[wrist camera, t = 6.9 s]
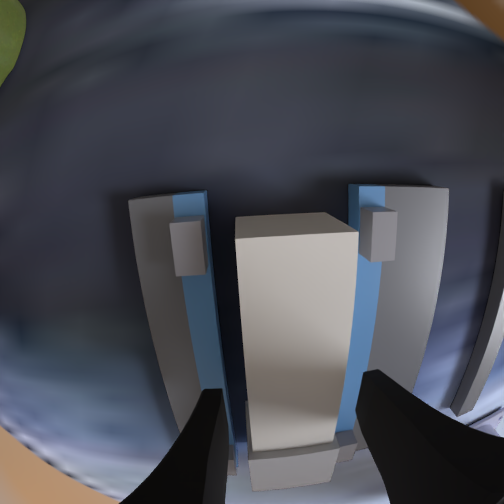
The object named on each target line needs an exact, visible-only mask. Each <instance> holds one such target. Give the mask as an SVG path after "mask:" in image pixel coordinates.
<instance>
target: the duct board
mask: <svg viewBox="0 0 504 504" xmlns="http://www.w3.org/2000/svg"><path fill="white" fill-rule="evenodd" d="M348 199H349V203H348V226H350V227H352V228H353V229H355V230H357V231H358V232H359V238H358V260H357V276H356V289H355V301H354V312H353V321H352V330H351V339H350V347H349V354H348V361H347V368H346V375H345V381H344V387H343V393H342V399H341V404H340V409H339V415H338V420H337V425H336V429H335V436H336V438H337V441H338V444H339V447H340V449H339V453H338V457H337V460H336V463H340V462H344V461H349V460H352V459H353V456H354V453H355V451H357V450H361V449H365V448H368V446H367V444H366V441H365V439H364V437H363V435H362V432H361V429H360V426H359V423H358V419H357V416H356V412H355V408H356V404H357V399H358V395H359V390H360V385H361V380H362V375H363V372H365V371H370V370H375V369H379V370H381V371H382V372H383V373H385V374H386V375H387V376H389V377H390V378H391V379H393V380H394V381H395V382H397V383H398V384H399V385H401V386H402V387H403V388H405V389H406V390H407V391H409V392H410V393H412V391H413V388H414V385H415V382H416V379H417V376H418V373H419V370H420V366H421V363H422V360H423V356H424V353H425V349H426V345H427V341H428V337H429V333H430V329H431V325H432V321H433V316H434V311H435V307H436V302H437V296H438V291H439V285H440V279H441V273H442V266H443V259H444V251H445V242H446V231H447V219H448V203H449V188H444V187H438V186H427V185H397V184H348ZM128 203H129V212H130V220H131V227H132V235H133V242H134V248H135V255H136V261H137V267H138V272H139V278H140V283H141V289H142V294H143V299H144V304H145V309H146V313H147V318H148V322H149V327H150V331H151V335H152V339H153V343H154V347H155V351H156V355H157V359H158V363H159V367H160V370H161V374H162V377H163V381H164V384H165V388H166V391H167V395H168V398H169V401H170V404H171V407H172V411H173V414H174V417H175V420H176V423H177V426H178V429H179V432H180V433H181V432H182V430H183V428H184V426H185V425H186V423H187V421H188V420H189V418H190V416H191V414H192V412H193V410H194V408H195V406H196V404H197V402H198V399H199V397H200V394H201V392H202V391H203V390H204V389H214V388H222V389H223V396H224V402H225V408H226V414H227V420H228V426H229V459H228V471H227V476H228V475H237V474H236V467H238V452H237V446H236V439H235V433H234V427H233V420H232V414H231V407H230V400H229V393H228V386H227V379H226V371H225V364H224V356H223V348H222V340H221V332H220V323H219V315H218V306H217V297H216V287H215V278H214V268H213V257H212V247H211V236H210V224H209V212H208V199H207V190H201V191H190V192H179V193H169V194H159V195H150V196H141V197H136V198H133V199H131V200H128ZM503 337H504V191H503V209H502V220H501V230H500V238H499V246H498V252H497V259H496V265H495V270H494V275H493V280H492V285H491V290H490V294H489V298H488V302H487V306H486V310H485V314H484V318H483V321H482V325H481V328H480V331H479V335H478V338H477V341H476V344H475V347H474V350H473V353H472V356H471V359H470V361H469V364H468V367H467V369H466V372H465V375H464V377H463V380H462V382H461V384H460V387H459V389H458V392H457V394H456V396H455V398H454V401H453V403H452V405H451V407H450V409H451V410H452V411H453V413H454V414H455V415H456V417H458V416H461V415H463V414H465V413H467V412H469V411H471V410H473V408H474V406H475V404H476V402H477V400H478V398H479V396H480V394H481V391H482V389H483V387H484V385H485V383H486V380H487V378H488V376H489V374H490V371H491V369H492V366H493V364H494V361H495V359H496V356H497V354H498V351H499V348H500V346H501V343H502V340H503Z"/></svg>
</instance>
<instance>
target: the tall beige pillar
mask: <svg viewBox="0 0 504 504" xmlns="http://www.w3.org/2000/svg"><path fill="white" fill-rule="evenodd" d="M358 238H359V232H358V231H357V230H355V229H353V228H352V227H350V226H348V225H347V224H345V223H343V222H341V221H340V220H338V219H336V218H334V217H333V216H331V215H329V214H327V213H326V212H319V213H296V214H277V215H259V216H243V217H235V244H236V258H237V272H238V286H239V299H240V312H241V324H242V337H243V349H244V360H245V372H246V383H247V395H248V401H245V408H246V428H247V446H248V462H249V470H250V477H251V485H252V491H265V490H276V489H286V488H294V487H301V486H307V485H314V484H319V483H325V482H330V481H331V477H332V474H333V471H334V467H335V464H336V460H337V457H338V453H339V449H340V447H339V444H338V441H337V438H336V436H335V429H336V425H337V420H338V415H339V409H340V404H341V399H342V393H343V387H344V381H345V375H346V368H347V361H348V354H349V347H350V339H351V330H352V321H353V312H354V301H355V289H356V276H357V260H358Z"/></svg>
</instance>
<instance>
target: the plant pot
mask: <svg viewBox="0 0 504 504" xmlns="http://www.w3.org/2000/svg"><path fill="white" fill-rule="evenodd" d="M25 30H26V14H25V10H24V8H23V6H22V5H21V3H20V2H19V1H18V0H0V87H1V85H2V83H3V81H4V80H5V78H6V77H7V75H8V74H9V73H10V72H11V71H12V69H13V67H14V65H15V63H16V60H17V58H18V55H19V53H20V50H21V47H22V43H23V39H24V35H25Z"/></svg>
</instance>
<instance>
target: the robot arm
mask: <svg viewBox="0 0 504 504" xmlns="http://www.w3.org/2000/svg"><path fill="white" fill-rule="evenodd" d="M355 412H356V416H357V419H358V423H359V426H360V429H361V432H362V435H363V437H364V439H365V441H366V444H367V446H368V448H369V450H370V452H371V454H372V457H373V459H374V461H375V463H376V465H377V468H378V470H379V472H380V474H381V476H382V479H383V481H384V484H385V487H386V490H387V494H388V497H389V501H390V504H504V438H503V437H500V435H499V434H498V433H497V432H496V430H495V429H496V428H497V426H498V424H499V423H500V421H501V419H502V418H503V416H504V408H502V409H500V410H498V411H497V412H495V413H493V414H491V415H489V416H488V417H486V418H484V419H482V420H480V421H478V422H476V423H474V424H472V425H470V426H466V425H464V424H462V423H460V422H458V421H456V420H454V419H452V418H450V417H448V416H446V415H444V414H442V413H441V412H439V411H437V410H436V409H434V408H432V407H431V406H429V405H428V404H426V403H425V402H423V401H422V400H420V399H419V398H417V397H416V396H414V395H413V394H412V393H410V392H409V391H407V390H406V389H405V388H403V387H402V386H401V385H399V384H398V383H397V382H395V381H394V380H393V379H391V378H390V377H389V376H387V375H386V374H385V373H383V372H382V371H381V370H379V369H375V370H370V371H365V372H363V375H362V380H361V385H360V390H359V395H358V399H357V404H356V408H355ZM228 459H229V426H228V420H227V414H226V408H225V402H224V396H223V389H222V388H214V389H204V390H203V391H202V392H201V394H200V397H199V399H198V402H197V404H196V406H195V408H194V410H193V412H192V414H191V416H190V418H189V420H188V421H187V423H186V425H185V426H184V428H183V430H182V432H181V433H180V435H179V437H178V438H177V440H176V441H175V443H174V444H173V446H172V447H171V448H170V450H169V451H168V453H167V454H166V456H165V457H164V458H163V459H162V461H161V462H160V463H159V465H158V466H157V467H156V468H155V469H154V470H153V472H152V473H151V474H150V475H149V476H148V477H147V478H146V479H145V480H144V481H143V482H142V483H141V484H140V485H139V486H138V487H137V488H136V489H135V490H134V491H133V492H132V493H131V494H130V495H129V496H128V497H126V498H125V499H124V500H123V501H122V502H120V503H119V504H225V494H226V482H227V471H228Z"/></svg>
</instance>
